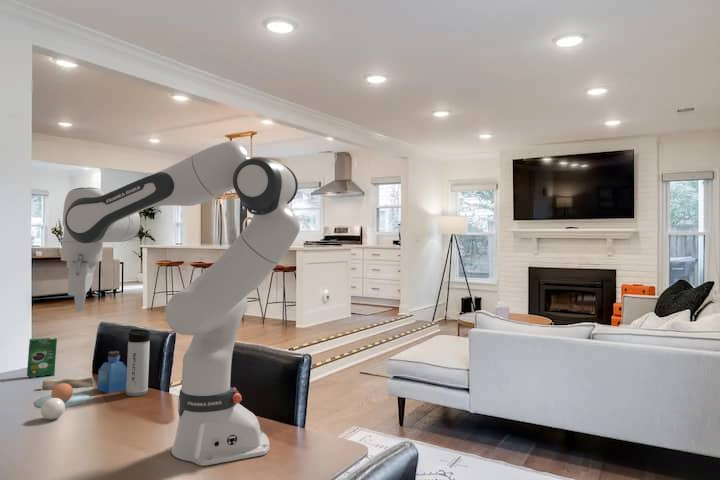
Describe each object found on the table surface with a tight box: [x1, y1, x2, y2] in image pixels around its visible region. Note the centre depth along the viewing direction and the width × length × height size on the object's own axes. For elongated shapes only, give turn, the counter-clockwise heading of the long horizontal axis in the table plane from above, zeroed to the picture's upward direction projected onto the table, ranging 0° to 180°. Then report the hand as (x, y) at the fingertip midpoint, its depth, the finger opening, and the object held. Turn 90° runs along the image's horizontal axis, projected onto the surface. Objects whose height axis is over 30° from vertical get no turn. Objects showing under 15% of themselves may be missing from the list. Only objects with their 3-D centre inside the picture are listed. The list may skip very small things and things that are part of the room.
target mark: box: [34, 392, 90, 408], centre depth 148 cm, size 14×14×1 cm
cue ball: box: [40, 398, 66, 420], centre depth 133 cm, size 6×6×6 cm
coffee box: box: [26, 337, 58, 377], centre depth 171 cm, size 8×3×13 cm, turn 130°
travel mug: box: [125, 328, 151, 397], centre depth 157 cm, size 6×7×20 cm
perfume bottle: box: [97, 350, 127, 394], centre depth 160 cm, size 6×6×12 cm
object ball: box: [50, 383, 74, 402], centre depth 146 cm, size 6×6×6 cm
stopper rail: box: [41, 376, 94, 390], centre depth 161 cm, size 14×2×2 cm, turn 115°
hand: (79, 310), depth 122 cm, fingers closed
